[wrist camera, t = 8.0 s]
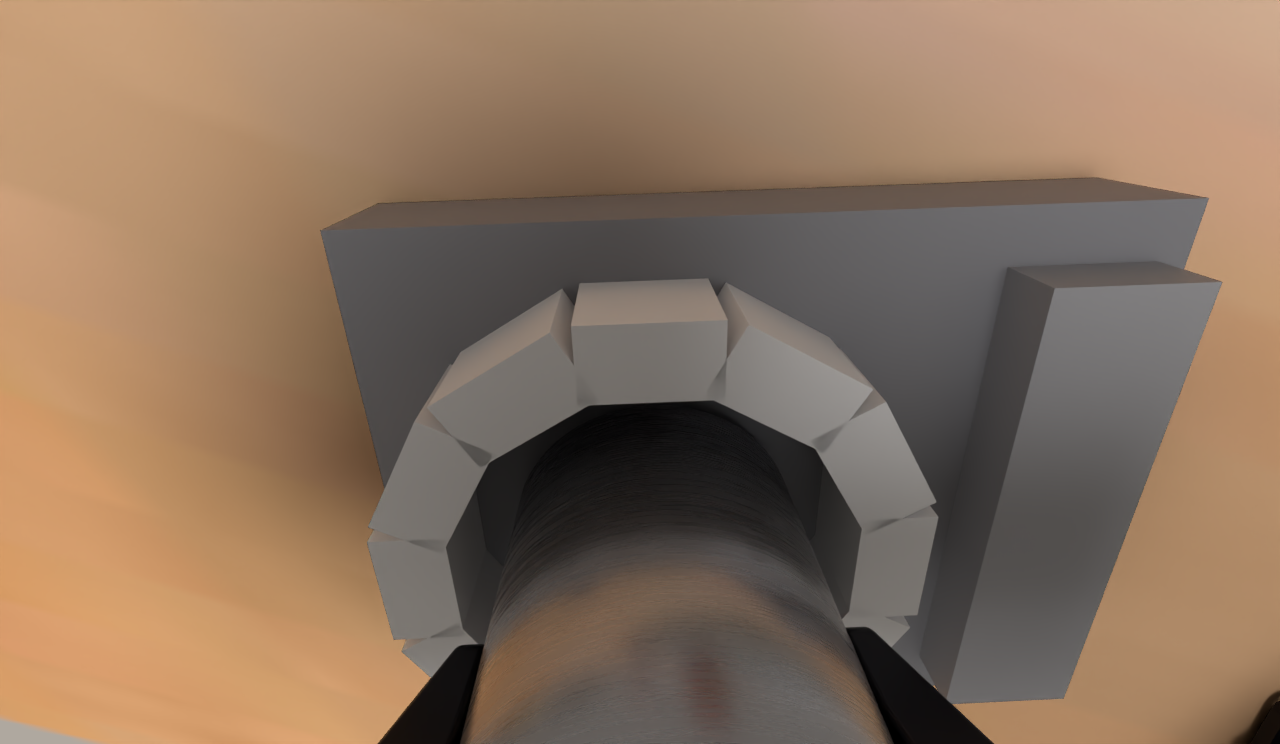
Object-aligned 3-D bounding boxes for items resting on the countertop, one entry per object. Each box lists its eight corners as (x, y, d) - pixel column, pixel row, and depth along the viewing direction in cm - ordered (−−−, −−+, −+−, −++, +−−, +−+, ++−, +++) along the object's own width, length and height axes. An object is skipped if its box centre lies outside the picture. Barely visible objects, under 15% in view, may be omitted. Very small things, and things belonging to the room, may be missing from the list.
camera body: (1097, 177, 12) (1345, 222, 8) (982, 599, 17) (1100, 766, 12) (378, 203, 12) (249, 263, 8) (464, 623, 16) (413, 800, 12)
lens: (802, 396, 10) (1274, 1187, 3) (782, 620, 12) (1021, 1406, 5) (499, 408, 10) (173, 1249, 3) (530, 631, 12) (394, 1442, 5)
